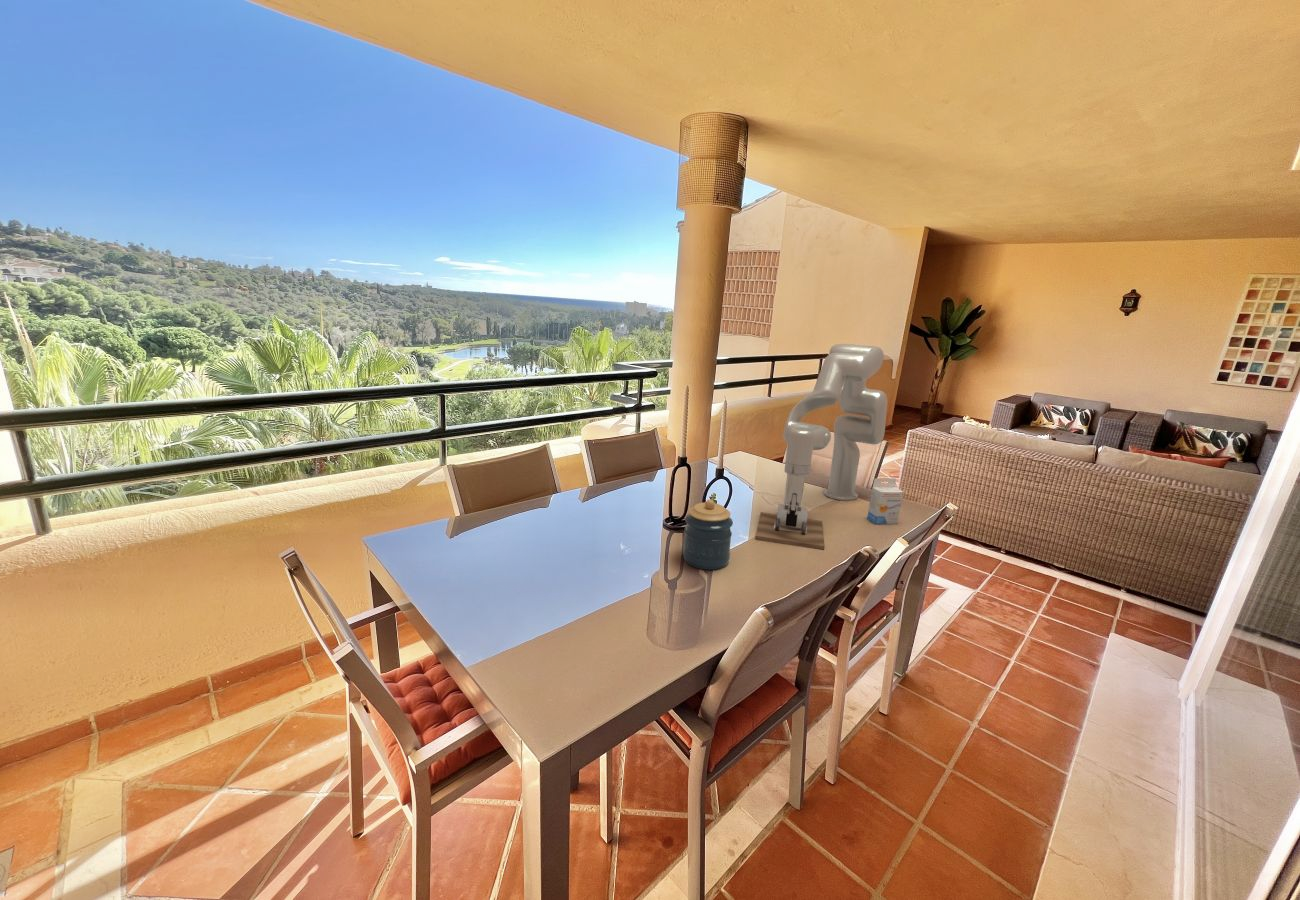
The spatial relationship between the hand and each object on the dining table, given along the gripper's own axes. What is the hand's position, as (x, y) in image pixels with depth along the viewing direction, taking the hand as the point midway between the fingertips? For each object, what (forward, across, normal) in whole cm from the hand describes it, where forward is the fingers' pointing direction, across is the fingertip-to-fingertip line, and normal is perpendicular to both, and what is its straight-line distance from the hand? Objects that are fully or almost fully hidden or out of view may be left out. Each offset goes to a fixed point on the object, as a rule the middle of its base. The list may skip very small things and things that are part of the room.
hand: (791, 522), depth 159 cm
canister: (+3, +28, -22) cm, 36 cm away
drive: (+1, 0, 0) cm, 1 cm away
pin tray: (+3, 0, 0) cm, 3 cm away
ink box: (+3, -20, +30) cm, 36 cm away
